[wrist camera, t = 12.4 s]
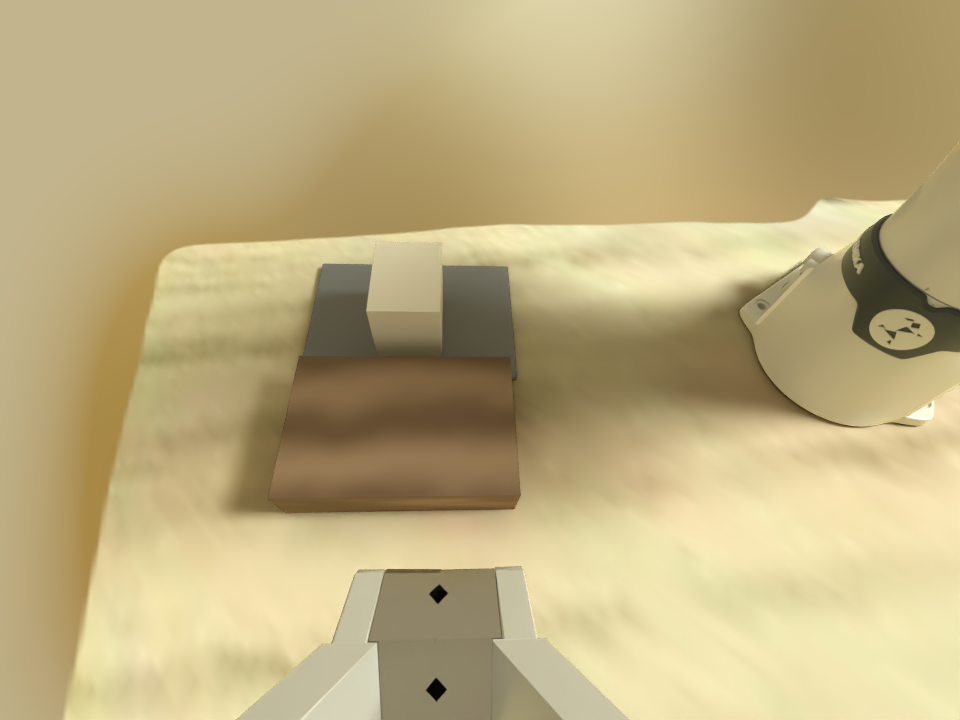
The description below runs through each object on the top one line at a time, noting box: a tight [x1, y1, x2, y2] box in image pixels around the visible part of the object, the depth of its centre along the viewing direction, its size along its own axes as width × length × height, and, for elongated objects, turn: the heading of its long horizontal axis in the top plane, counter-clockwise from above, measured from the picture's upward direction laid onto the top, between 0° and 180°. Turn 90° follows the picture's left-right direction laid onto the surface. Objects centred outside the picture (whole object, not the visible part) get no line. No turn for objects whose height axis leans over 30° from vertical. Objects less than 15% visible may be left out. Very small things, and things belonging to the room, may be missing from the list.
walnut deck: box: [268, 356, 521, 513], centre depth 37 cm, size 12×18×4 cm, turn 91°
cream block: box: [366, 242, 443, 357], centre depth 42 cm, size 7×6×8 cm
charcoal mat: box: [303, 264, 517, 380], centre depth 46 cm, size 14×20×1 cm
